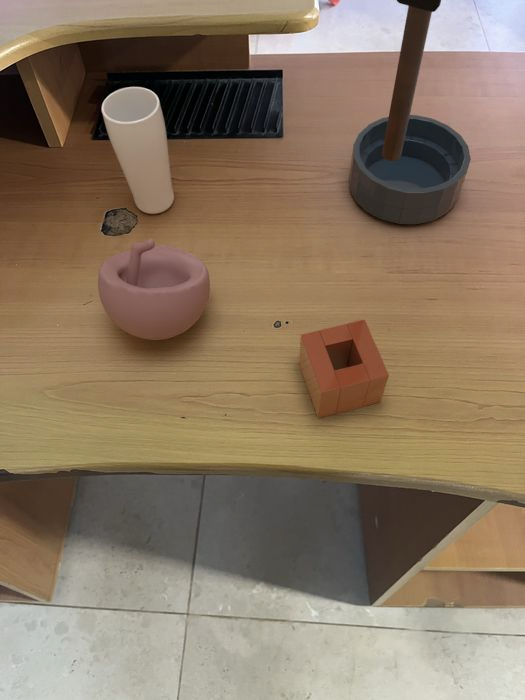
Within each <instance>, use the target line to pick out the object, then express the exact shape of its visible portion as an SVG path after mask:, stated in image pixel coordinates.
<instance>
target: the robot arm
mask: <svg viewBox="0 0 525 700" xmlns="http://www.w3.org/2000/svg"><path fill="white" fill-rule="evenodd" d="M396 2H397V3H398V4H401V5H404V6H407V7H408V6H411V7H415V8H419V9H423V10H426V11H430V12H432V13H433V12H436V11H437V10H438V9H439V7H440V6H441V4H442V3H441V2H442V0H396Z"/></svg>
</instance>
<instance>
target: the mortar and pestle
mask: <svg viewBox="0 0 525 700" xmlns="http://www.w3.org/2000/svg"><path fill="white" fill-rule="evenodd" d="M97 273H98V274H97V275H98V278H97V287H98V289H97V291H98V295H99V300H100V302H101V305H102V307H103V309H104V311H105V313H106V314H107V316H108V317H109V318H110V320H111V321H112V322H113V323H114V325H116V326H117V327H119V329H121V330H122V331H124V332H126V334H127V333H128V334H129V335H131V336H133V337H136V338H140V339H143V340H151V341H158V340H159V341H161V340H167V339H171V338H174V337H176V336H179V335H181V334H183V333H185V332H186V331H187V330H189V329H190V328H192V326H194V325H195V323H197V321H198V320H199V319H200V318H201V316H202V315H203V313H204V311H205V309H206V307H207V304H208V301H209V296H210V289H211V288H210V287H211V281H210V273H209V269H208V267H207V266H206V264H205V263H204V262H203V260H202V259H200V258H199V257H198V256H197V255H194V254H193V253H191V252H189V251H186V250H185V249H183V248H179V247H176V246H172V245H169V244H157V245H156V242H155V240H154V239H153V238H148V239H147V240H145V241H142V242H137V241H136V242H133V243H132V245H131V247H130V249H128V250H125V251H121V252H118V253H115V254H114V255H112V256H110V257H108V258H106V259H105V260H104V261H103V262H102V263H101V265H99V267H98V272H97Z"/></svg>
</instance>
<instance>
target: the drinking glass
mask: <svg viewBox="0 0 525 700" xmlns="http://www.w3.org/2000/svg"><path fill="white" fill-rule="evenodd" d="M101 113H102V119H103V121H104V125H105V130H106V132H107V136H108V138H109V141H110V144H111V146H112V149H113V151H114V154H115V156H116V159H117V161H118V163H119V166H120V168H121V171H122V173H123V175H124V177H125V180H126V182H127V184H128V187H129V190H130V192H131V194H132V198H133V201H134V204H135V206H136V208H137V209H138V210H139V211H141V212H143V213H145V214H149V215H157V214H161V213H163V212H165V211H167V210H168V209H169V208H170V207H171V206H172V205H173V204H174V201H175V193H174V188H173V183H172V174H171V163H170V153H169V144H168V137H167V136H168V135H167V128H166V122H165V117H164V114H163V110H162V106H161V102H160V99H159V96H158V95H157V94H156V93H155V92H154V91H152V90H151V89H148V88H145V87H142V86H129V87H123V88H119V89H117V90H115V91H113V92H111V93H110V94H108V95H107V96H106V98H105V99H104V100H103V102H102V104H101Z"/></svg>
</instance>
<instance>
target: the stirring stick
mask: <svg viewBox="0 0 525 700" xmlns="http://www.w3.org/2000/svg"><path fill="white" fill-rule="evenodd" d="M432 13H433V12H430V11H426V10H423V9H419V8H415V7H411V6H408V5H407V12H406V17H405V23H404V29H403V35H402V41H401V46H400V51H399V56H398V61H397V62H398V63H397V67H396V73H395V79H394V85H393V89H392V95H391V101H390V107H389V112H388V117H389V118H388V123H387V129H386V134H385V140H384V146H383V151H382V156H383V158H384V159H386V160H388V161H396V160H398V159H399V158H400V157H401V154H402V149H403V145H404V140H405V135H406V131H407V126H408V121H409V117H410V115H411V113H412V108H413V107H412V106H413V102H414V98H415V93H416V89H417V84H418V79H419V75H420V71H421V65H422V60H423V55H424V51H425V47H426V43H427V42H426V41H427V37H428V32H429V28H430V24H431V18H432Z"/></svg>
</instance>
